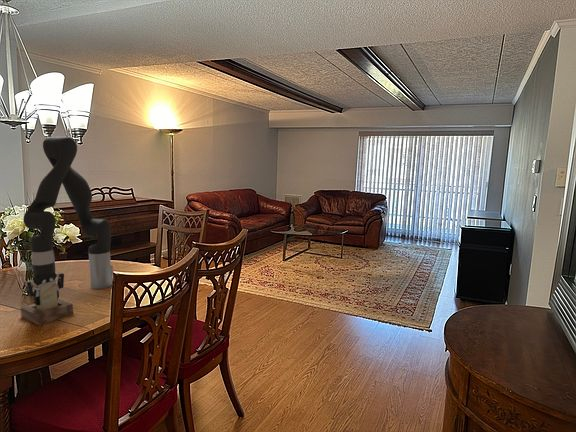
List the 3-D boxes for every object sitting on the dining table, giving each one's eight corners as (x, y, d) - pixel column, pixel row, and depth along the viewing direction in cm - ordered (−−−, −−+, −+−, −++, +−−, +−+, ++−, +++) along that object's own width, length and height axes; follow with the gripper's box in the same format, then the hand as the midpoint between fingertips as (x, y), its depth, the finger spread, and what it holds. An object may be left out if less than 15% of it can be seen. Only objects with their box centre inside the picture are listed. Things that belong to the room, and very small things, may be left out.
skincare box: (43, 314, 149) (40, 285, 147) (36, 312, 151) (33, 283, 149) (59, 309, 154) (56, 280, 152) (52, 306, 156) (50, 278, 154)
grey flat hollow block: (55, 306, 161) (54, 297, 161) (73, 313, 155) (72, 304, 154) (21, 317, 150) (20, 307, 150) (39, 325, 144) (38, 315, 143)
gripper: (56, 255, 157) (59, 294, 160) (18, 264, 145) (22, 306, 148) (67, 258, 153) (70, 298, 156) (28, 267, 141) (32, 310, 144)
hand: (46, 302), depth 152 cm, fingers closed on skincare box, 6 cm apart
